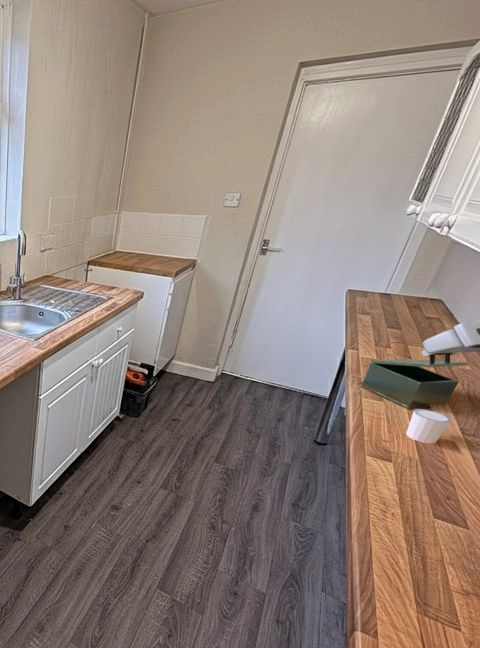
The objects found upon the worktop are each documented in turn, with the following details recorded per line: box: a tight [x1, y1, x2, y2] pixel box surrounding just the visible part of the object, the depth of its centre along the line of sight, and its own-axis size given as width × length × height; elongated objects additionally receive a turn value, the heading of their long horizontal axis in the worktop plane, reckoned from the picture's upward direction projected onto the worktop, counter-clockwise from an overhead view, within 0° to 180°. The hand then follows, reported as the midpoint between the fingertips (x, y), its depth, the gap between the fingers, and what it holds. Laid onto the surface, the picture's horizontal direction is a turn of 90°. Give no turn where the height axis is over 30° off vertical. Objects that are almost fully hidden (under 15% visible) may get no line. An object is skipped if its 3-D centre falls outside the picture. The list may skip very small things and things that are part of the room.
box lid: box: [370, 353, 468, 368], centre depth 126 cm, size 15×13×5 cm
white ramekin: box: [405, 408, 452, 445], centre depth 108 cm, size 7×7×7 cm
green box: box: [360, 362, 460, 410], centre depth 129 cm, size 15×13×9 cm
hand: (435, 353), depth 121 cm, fingers closed on box lid, 6 cm apart
